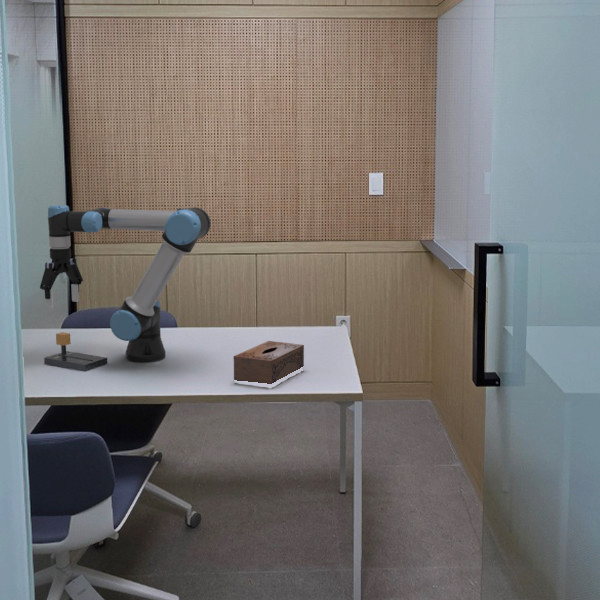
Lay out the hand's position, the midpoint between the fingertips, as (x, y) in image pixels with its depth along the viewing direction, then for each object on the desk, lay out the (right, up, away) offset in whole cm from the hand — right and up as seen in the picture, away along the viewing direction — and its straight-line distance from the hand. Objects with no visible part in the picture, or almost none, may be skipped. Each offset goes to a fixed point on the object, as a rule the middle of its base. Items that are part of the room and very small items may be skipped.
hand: (62, 304), depth 334 cm
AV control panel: (+5, -22, +1) cm, 23 cm away
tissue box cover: (+77, -26, -15) cm, 83 cm away
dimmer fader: (0, -19, +3) cm, 19 cm away
